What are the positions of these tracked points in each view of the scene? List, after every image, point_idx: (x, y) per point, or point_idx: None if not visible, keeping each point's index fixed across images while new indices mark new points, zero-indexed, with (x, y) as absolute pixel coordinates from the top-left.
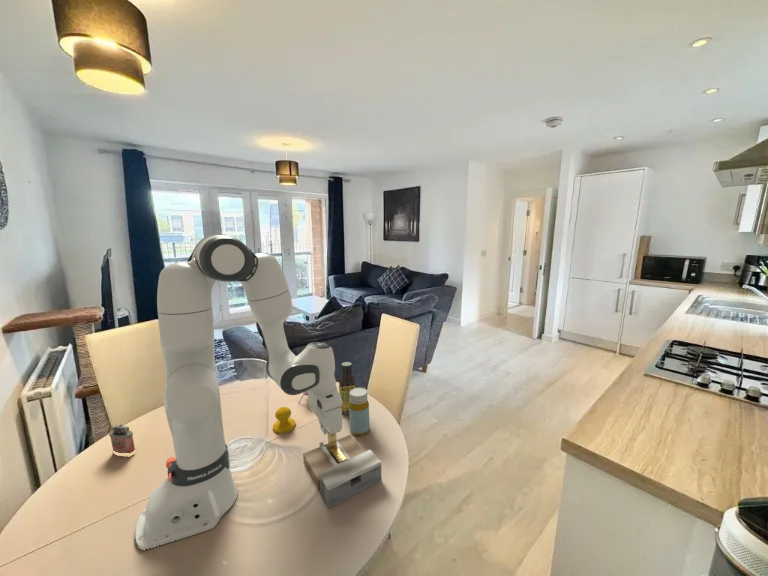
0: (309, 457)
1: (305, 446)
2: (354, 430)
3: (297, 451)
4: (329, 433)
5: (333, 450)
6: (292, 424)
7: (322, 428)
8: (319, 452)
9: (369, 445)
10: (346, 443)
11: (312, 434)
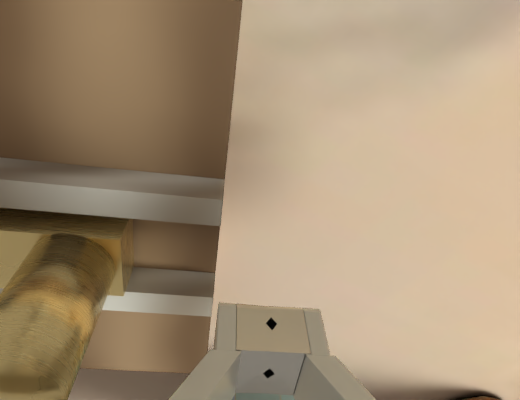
0: (136, 30)
1: (412, 101)
2: (245, 396)
3: (417, 14)
4: (20, 381)
5: (5, 247)
6: None
7: (254, 344)
8: (152, 144)
9: (120, 373)
10: (129, 329)
11: (482, 203)
